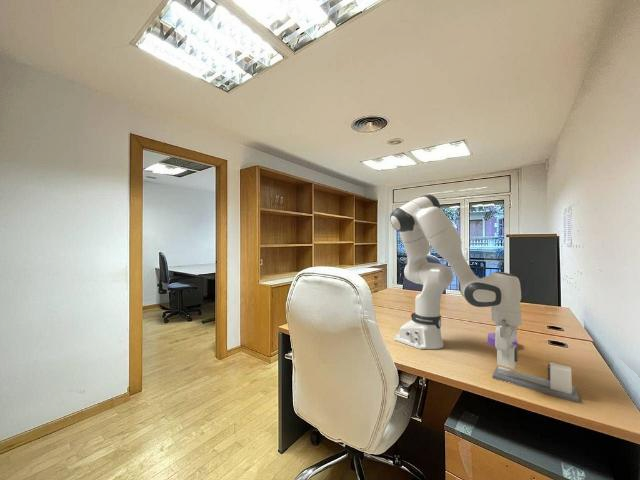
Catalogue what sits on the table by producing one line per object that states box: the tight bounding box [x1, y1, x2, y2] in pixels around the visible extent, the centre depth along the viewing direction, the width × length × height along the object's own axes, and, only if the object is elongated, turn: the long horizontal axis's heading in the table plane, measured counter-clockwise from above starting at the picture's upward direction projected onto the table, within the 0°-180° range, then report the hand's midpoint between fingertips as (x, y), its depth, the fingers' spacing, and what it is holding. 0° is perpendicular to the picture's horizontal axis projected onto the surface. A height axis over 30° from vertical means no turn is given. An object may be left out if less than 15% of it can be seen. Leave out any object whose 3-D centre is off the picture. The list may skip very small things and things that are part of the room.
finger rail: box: [492, 361, 580, 404], centre depth 90 cm, size 22×9×8 cm, turn 48°
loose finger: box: [496, 344, 519, 370], centre depth 94 cm, size 6×4×7 cm
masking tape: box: [487, 332, 518, 347], centre depth 125 cm, size 12×12×4 cm
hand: (506, 355), depth 94 cm, fingers closed on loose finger, 4 cm apart
